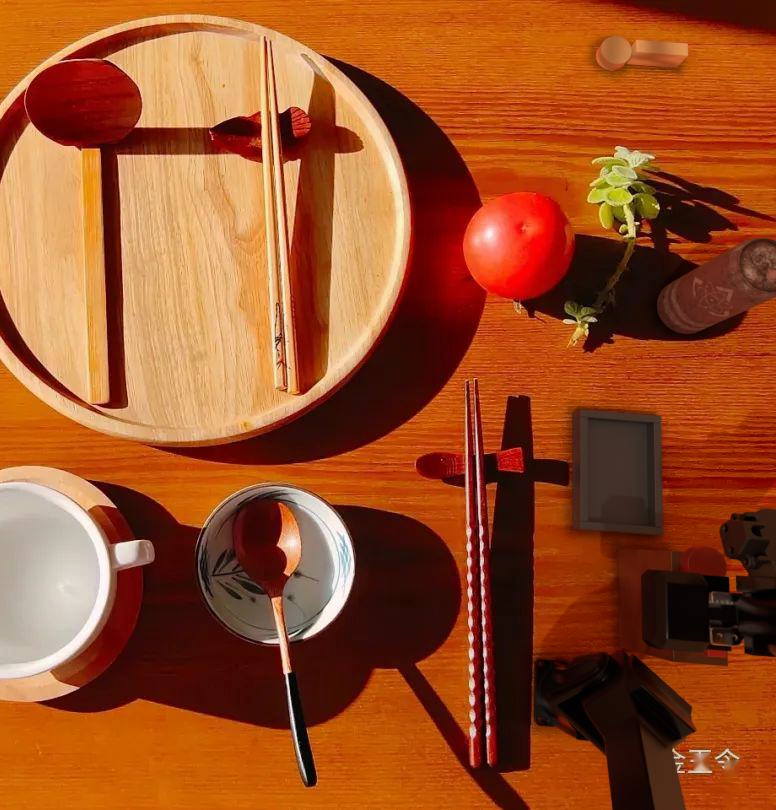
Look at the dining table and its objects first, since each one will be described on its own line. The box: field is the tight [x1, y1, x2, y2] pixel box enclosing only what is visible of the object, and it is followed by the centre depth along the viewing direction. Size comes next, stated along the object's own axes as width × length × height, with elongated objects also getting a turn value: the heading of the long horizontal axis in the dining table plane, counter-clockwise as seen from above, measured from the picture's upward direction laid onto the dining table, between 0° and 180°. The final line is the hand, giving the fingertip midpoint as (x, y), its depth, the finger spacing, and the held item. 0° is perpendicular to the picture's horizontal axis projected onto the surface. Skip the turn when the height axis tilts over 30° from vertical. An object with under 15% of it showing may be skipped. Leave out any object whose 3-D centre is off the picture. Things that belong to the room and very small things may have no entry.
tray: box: [571, 409, 664, 536], centre depth 81 cm, size 13×9×2 cm
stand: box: [617, 548, 729, 667], centre depth 75 cm, size 10×5×10 cm, turn 176°
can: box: [656, 237, 776, 335], centre depth 79 cm, size 6×6×14 cm
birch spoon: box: [595, 35, 689, 72], centre depth 90 cm, size 10×4×2 cm, turn 86°
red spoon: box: [679, 545, 728, 658], centre depth 69 cm, size 10×4×2 cm, turn 176°
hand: (700, 608), depth 70 cm, fingers closed
